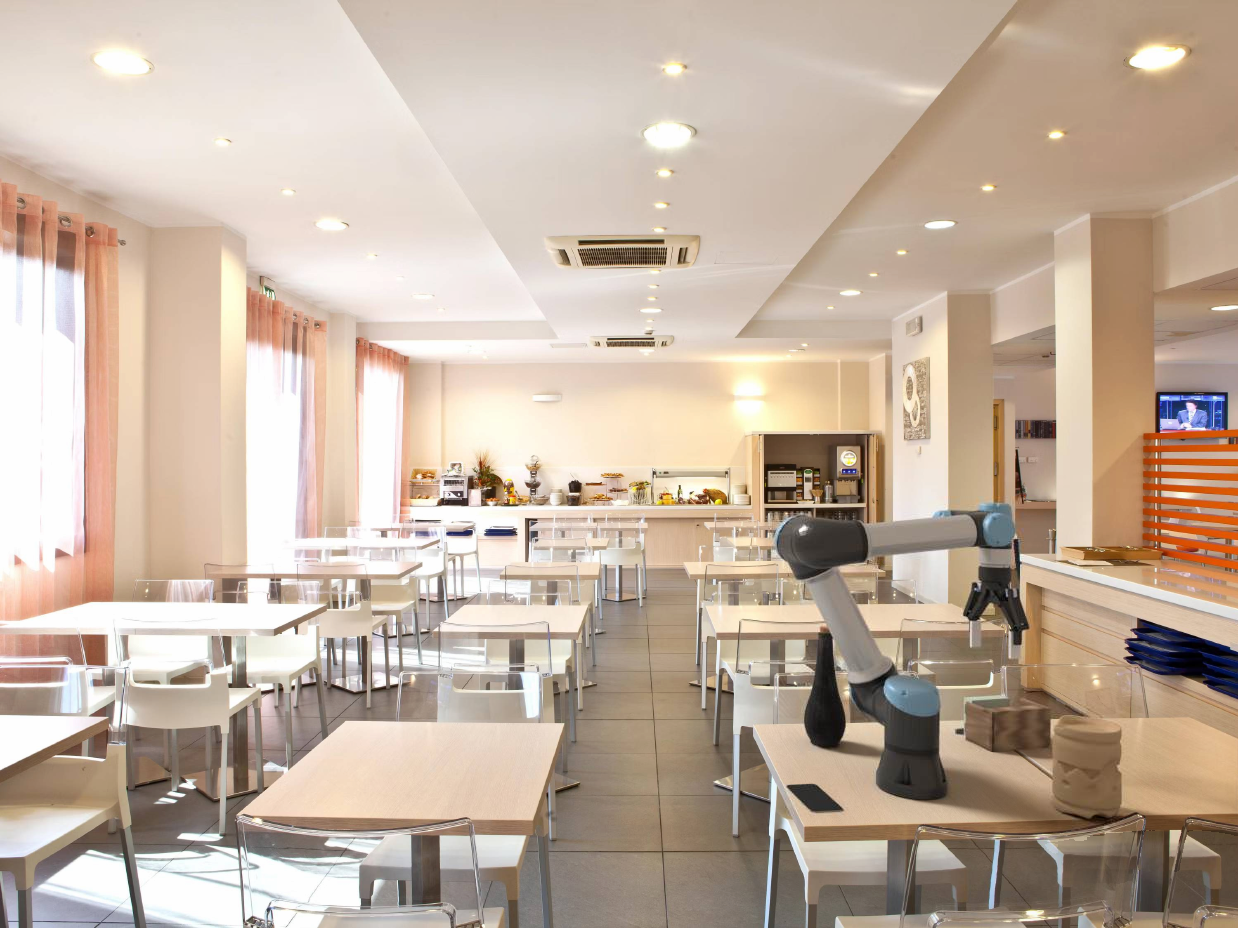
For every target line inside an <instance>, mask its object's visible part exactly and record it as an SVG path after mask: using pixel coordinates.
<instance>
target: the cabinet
mask: <svg viewBox="0 0 1238 928" xmlns="http://www.w3.org/2000/svg"><path fill="white" fill-rule="evenodd" d="M1051 711H1052V710H1051V707H1048V706H1045V705H1043V704H1040V703H1038V702H1035V701H1031V700H1029V699H1026V698H1024V697H1021V698H1019V706H1010V707H1001V708H983V707H981V706H978V705H976V704H973V703H971V702H966V704H965V714H966V723H965V730H964V727H963V728H962V727H960V728H955V729H954V732H955V734H956V735H959V734H964V732H965V735H964V736H965V740H966V741H967V742H970V743H972V744H974V745H977V746H978V747H980V748H983V749H985V750H986V751H989V752H1005V751H1015V750H1019V751H1020V750H1027V749H1028V750H1030V749H1041V748H1051V745H1052V743H1051V736H1052V735H1051V734H1052V733H1051V729H1052V728H1051V727H1052V726H1051V725H1052V723H1051V719H1052V718H1051V717H1052V713H1051Z"/></svg>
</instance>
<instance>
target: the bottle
mask: <svg viewBox="0 0 1238 928" xmlns="http://www.w3.org/2000/svg"><path fill="white" fill-rule="evenodd" d="M817 635H818V638H817V639H818V641H817V653H816V654H817V655H816V663H815V669H814V670H815V671H814V679H813V682H812V687H811V691H810V695H809V698H808V699H807V702H806V705H805V710H804V715H803V725H804V730H805V733H806V735H807V737H808V738H809V740H810V744H811V743H812V745H813V746H815V747H818V748H819V747H820V748H826V749H831V748H832V749H833V748H837V747H839V746H840V742H841V740H842V739H843V737H844V735H845V732H846V726H847V720H846V718H847V717H846V713H845V709H844V705H843V701H842V699H841V697H840V692H839V687H838V681H837V676H836V675H837V674H836V667H835V658H834V657H835V656H834V641H833V640H834V639H833V637H832V635H831V633H830V631H829V629H828V627H827V625H826V626H819V631H818V633H817Z"/></svg>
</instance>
